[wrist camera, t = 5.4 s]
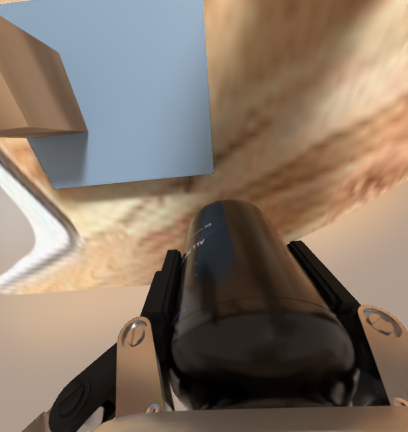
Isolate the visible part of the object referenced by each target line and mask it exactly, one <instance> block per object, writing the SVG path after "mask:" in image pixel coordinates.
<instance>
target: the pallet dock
mask: <svg viewBox="0 0 408 432" xmlns="http://www.w3.org/2000/svg"><path fill="white" fill-rule="evenodd" d="M0 16H1V17H3V18H5V19H6V20H8V21H9V22H11V23H13V24H14V25H16V26H17V27H19V28H21V29H22V30H24V31H25V32H27V33H29V34H30V35H32V36H33V37H35V38H36V39H38V40H40V41H41V42H43V43H44V44H46V45H48V46H49V47H51V48H52V49H54V50H56V51H57V52H59V55H60V57H61V60H62V63H63V65H64V68H65V71H66V73H67V76H68V79H69V81H70V84H71V87H72V89H73V92H74V95H75V97H76V100H77V103H78V105H79V108H80V111H81V113H82V116H83V119H84V121H85V124H86V127H87V129H88V132H84V133H75V134H66V135H56V136H47V137H38V138H27V140H28V142H29V144H30V145H31V147H32V149H33V151H34V153H35V155H36V157H37V158H38V160H39V162H40V164H41V166H42V168H43V169H44V171H45V173H46V175H47V177H48V179H49V181H50V182H51V184H52V186H53V188H54V189H60V188H70V187H80V186H91V185H101V184H111V183H121V182H132V181H142V180H152V179H162V178H173V177H183V176H193V175H204V174H214V168H213V152H212V137H211V121H210V105H209V89H208V73H207V57H206V41H205V25H204V9H203V0H30V1H22V2H15V3H7V4H0Z"/></svg>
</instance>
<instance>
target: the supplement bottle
mask: <svg viewBox="0 0 408 432" xmlns="http://www.w3.org/2000/svg"><path fill="white" fill-rule="evenodd" d="M165 364H166V371H167V376H168V379H169V382H170V385H171V388H172V390H173V392H174V393H175V395H176V397H177V398H178V399H179V401H180V402H181V403H182V404H183V405H184V407H185V408H186V409H187V410H188V411H189V410H224V409H262V408H305V407H349V405H350V402H351V400H352V398H353V396H354V394H355V392H356V390H357V387H358V384H359V379H360V364H359V358H358V353H357V350H356V347H355V344H354V342H353V339H352V337H351V336H350V334H349V332H348V331H347V329H346V328H345V326H344V325H343V323H342V322H341V320H340V319H339V317H338V316H337V314H336V313H335V312H334V310H333V309H332V308H331V306H330V305H329V303H328V302H327V301H326V299H325V298H324V296H323V295H322V294H321V292H320V291H319V289H318V288H317V287H316V285H315V284H314V282H313V281H312V280H311V278H310V277H309V275H308V274H307V273H306V271H305V270H304V268H303V267H302V266H301V264H300V263H299V261H298V260H297V259H296V257H295V256H294V255H293V253H292V252H291V250H290V249H289V248H288V246H287V245H286V243H285V242H284V241H283V239H282V238H281V236H280V235H279V234H278V232H277V231H276V229H275V228H274V227H273V225H272V224H271V222H270V221H269V220H268V219H267V217H266V216H265V215H264V213H263V212H262V211H261V210H260V209H258V208H257V207H256V206H254V205H252V204H250V203H248V202H245V201H242V200H235V199H227V200H220V201H216V202H213V203H211V204H209V205H207V206H205V207H204V208H202V209H201V210H200V211H199V212H198V213H197V214H196V215H195V216H194V217H193V219H192V220H191V222H190V224H189V227H188V230H187V234H186V239H185V245H184V250H183V256H182V261H181V266H180V272H179V277H178V283H177V288H176V294H175V299H174V305H173V310H172V316H171V321H170V327H169V333H168V338H167V346H166V353H165Z"/></svg>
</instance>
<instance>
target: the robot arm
mask: <svg viewBox="0 0 408 432" xmlns="http://www.w3.org/2000/svg"><path fill="white" fill-rule="evenodd" d="M287 246H288V248H289V249H290V250H291V252H292V253H293V255H294V256H295V257H296V259H297V260H298V261H299V263H300V264H301V266H302V267H303V268H304V270H305V271H306V273H307V274H308V275H309V277H310V278H311V280H312V281H313V282H314V284H315V285H316V287H317V288H318V289H319V291H320V292H321V294H322V295H323V296H324V298H325V299H326V301H327V302H328V303H329V305H330V306H331V308H332V309H333V310H334V312H335V313H336V314H337V316H338V317H339V319H340V320H341V322H342V323H343V325H344V326H345V328H346V329H347V331H348V332H349V334H350V336H351V337H352V339H353V342H354V344H355V347H356V350H357V353H358V358H359V364H360V379H359V384H358V387H357V390H356V392H355V394H354V396H353V398H352V400H351V402H350V405H349V407H305V408H262V409H224V410H189V411H177V409H176V404H175V399H174V395H173V390H172V388H171V385H170V382H169V379H168V376H167V371H166V364H165V353H166V346H167V338H168V333H169V327H170V321H171V316H172V310H173V305H174V299H175V294H176V288H177V283H178V277H179V272H180V266H181V261H182V258H181V253H180V251H177V249H175V250H168V251H167V255H166V258H165V261H164V264H163V267H162V271H157V272H156V273H155V275H154V278H153V281H152V284H151V287H150V290H149V292H148V295H147V298H146V301H145V304H144V307H143V309H142V312H141V315H140V317H136V318H134V319H132V320H130V321H129V322H128V323H127V324H126V325H125V326H124V327H123V328H122V330H121V331H120V334H119V336H118V340H117V343H115V344H114V345H113V346H112V347H111V348H110V349H108V350H107V351H106V352H105V353H104V354H102V355H101V356H100V357H99V358H98V359H97V360H95V361H94V362H93V363H92V364H91V365H90V366H88V367H87V368H86V369H85V370H84V371H82V372H81V373H80V374H79V375H78V376H76V377H75V378H74V379H73V380H72V381H71V382H70V383H69V384H68V385H67V386H66V387H65V388H64V389H63V390H62V392H61V393H60V394H59V396H58V397H57V399H56V401H55V402H54V404H53V407H52V408H51V409H50V410H49V411H48V412H43V413H42V414H40V415H39V416H38V417H37V418H36V419H35V420H34V421H33V422H32V423H31V424H30V425H28V426H27V427H26V428H25V429H24V430H23V431H22V432H408V331H407V330H406V328H405V327H404V326H403V324H402V323H401V322H400V321H399V320H398V319H397V318H396V317H394V316H393V315H391V314H390V313H388V312H386V311H385V310H383V309H381V308H378V307H375V306H372V305H362V306H361V305H360V304H359V303H358V301H357V300H356V299H355V298H354V297H353V296H352V295H351V294H350V293H349V292H348V291H347V290H346V288H345V287H344V286H343V285H342V284H341V283H340V282H339V281H338V280H337V279H336V278H335V276H334V275H333V274H332V273H331V272H330V271H329V270H328V269H327V268H326V267H325V265H324V264H323V263H322V262H321V261H320V260H319V259H318V258H317V257H316V256H315V255H314V254H313V253H312V252H311V250H310V249H309V248H308V247H307V246H306V245H305V244H304V243H303V242H302V241H291V242H290V244H288V245H287ZM115 416H116V417H115ZM114 417H115V419H114Z"/></svg>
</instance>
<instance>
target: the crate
mask: <svg viewBox="0 0 408 432" xmlns="http://www.w3.org/2000/svg"><path fill="white" fill-rule="evenodd" d="M84 132H88V129H87V127H86V124H85V121H84V119H83V116H82V113H81V111H80V108H79V105H78V103H77V100H76V97H75V95H74V92H73V89H72V87H71V84H70V81H69V79H68V76H67V73H66V71H65V68H64V65H63V63H62V60H61V57H60V55H59V52H57V51H56V50H54V49H52V48H51V47H49V46H48V45H46V44H44V43H43V42H41V41H40V40H38V39H36V38H35V37H33V36H32V35H30V34H29V33H27V32H25V31H24V30H22V29H21V28H19V27H17V26H16V25H14V24H13V23H11V22H9V21H8V20H6V19H5V18H3V17H1V16H0V137H9V138H38V137H47V136H56V135H66V134H75V133H84Z"/></svg>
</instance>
